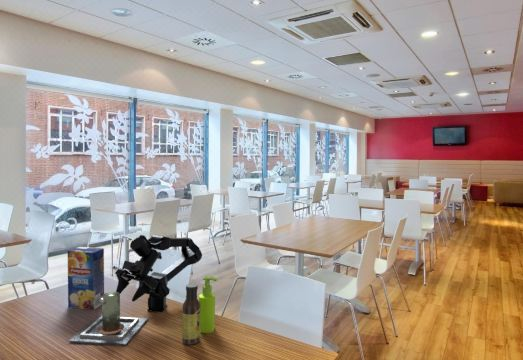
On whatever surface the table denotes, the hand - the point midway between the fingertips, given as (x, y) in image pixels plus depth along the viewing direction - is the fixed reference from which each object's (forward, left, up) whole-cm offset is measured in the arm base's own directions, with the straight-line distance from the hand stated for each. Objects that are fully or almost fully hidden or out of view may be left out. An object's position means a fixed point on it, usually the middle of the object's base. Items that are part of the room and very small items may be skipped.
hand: (124, 298), depth 142 cm
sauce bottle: (-28, +9, -10) cm, 32 cm away
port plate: (+3, +5, -10) cm, 12 cm away
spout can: (+2, +5, -9) cm, 11 cm away
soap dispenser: (-32, 0, -10) cm, 34 cm away
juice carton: (+24, -16, -10) cm, 30 cm away
